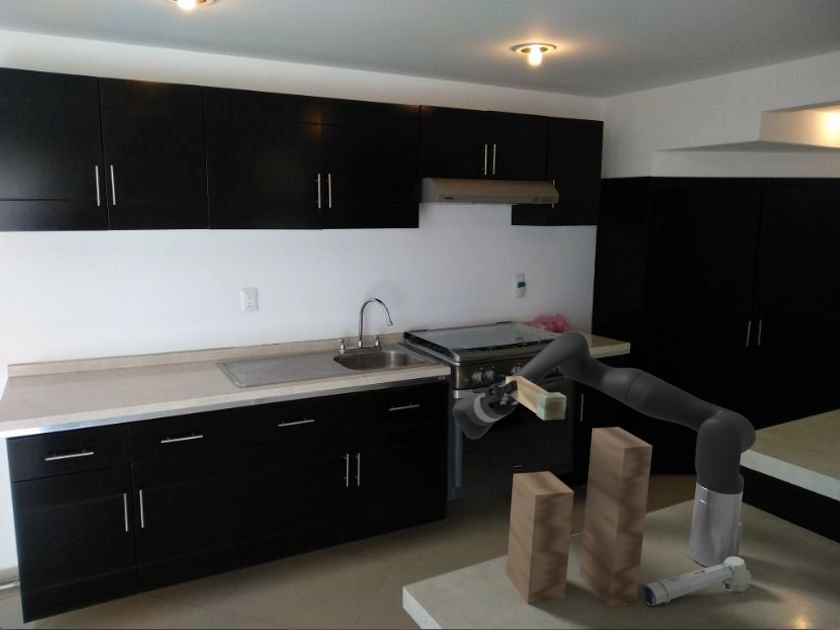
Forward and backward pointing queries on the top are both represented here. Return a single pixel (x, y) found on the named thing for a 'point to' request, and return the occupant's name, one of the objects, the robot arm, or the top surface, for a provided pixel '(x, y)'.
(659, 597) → the white tube with head
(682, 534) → the top surface
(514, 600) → the top surface
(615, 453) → the walnut post
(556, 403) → the oak rail
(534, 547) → the low walnut block
